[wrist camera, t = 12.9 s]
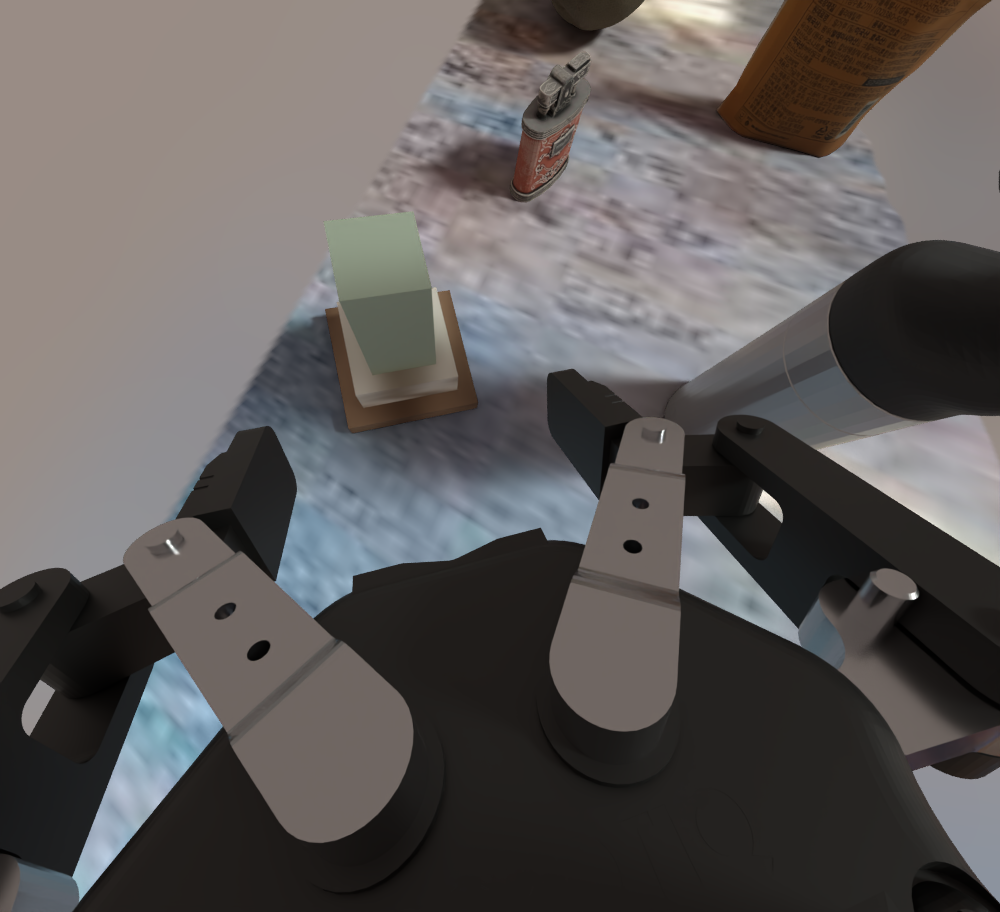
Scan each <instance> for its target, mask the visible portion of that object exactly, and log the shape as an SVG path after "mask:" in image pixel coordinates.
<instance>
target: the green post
mask: <svg viewBox="0 0 1000 912" xmlns="http://www.w3.org/2000/svg"><path fill="white" fill-rule="evenodd" d="M324 226H325V231H326V236H327V241H328V246H329V251H330V257H331V262H332V267H333V272H334V277H335V282H336V287H337V292H338V297H339V302H340V304H341V306H342V309H343V311H344V313H345V315H346V317H347V320H348V322H349V324H350V326H351V329H352V331H353V333H354V335H355V337H356V340H357V342H358V344H359V346H360V349H361V351H362V353H363V355H364V357H365V360H366V362H367V364H368V366H369V369H370V371H371V373H372V375H376V374H382V373H388V372H394V371H399V370H405V369H411V368H416V367H422V366H428V365H433V364H436V352H435V335H434V319H433V302H432V287H431V283H430V279H429V275H428V271H427V267H426V262H425V258H424V254H423V250H422V246H421V242H420V238H419V233H418V229H417V225H416V221H415V217H414V213H413V212H404V213H395V214H386V215H377V216H368V217H359V218H350V219H341V220H332V221H324Z"/></svg>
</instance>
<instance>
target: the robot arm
mask: <svg viewBox="0 0 1000 912" xmlns="http://www.w3.org/2000/svg"><path fill="white" fill-rule="evenodd" d="M999 190H1000V171H999ZM547 412H548V425H549V430H550V433H551V435H552V437H553V438H554V440H555V441H556V443H557V444H558V445H559V447H560V448H561V449H562V451H563V452H564V453H565V455H566V456H567V458H568V459H569V460H570V462H571V463H572V464H573V466H574V467H575V468H576V470H577V471H578V472H579V474H580V475H581V477H582V478H583V479H584V481H585V482H586V483H587V485H588V486H589V487H590V489H591V490H592V491H593V493H594V494H595V496H596V497H597V498H598V500H599V502H598V506H597V509H596V512H595V516H594V519H593V522H592V525H591V529H590V532H589V535H588V539H587V542H586V545H583V544H579V543H575V542H569V541H558V540H547V539H546V537H545V535H544V533H543V531H542V529H541V528H538V529H534V530H530V531H526V532H522V533H518V534H514V535H510V536H507V537H503V538H499V539H496V540H494V541H492V542H490V543H488V544H486V545H484V546H482V547H480V548H478V549H476V550H473V551H471V552H469V553H467V554H465V555H463V556H461V557H459V558H457V559H454V560H450V561H436V562H419V563H402V564H398V565H394V566H390V567H386V568H382V569H379V570H375V571H371V572H367V573H363V574H359V575H355V576H353V589H352V592H351V593H349V594H347V595H345V596H344V597H342V598H340V599H339V600H337V601H335V602H334V603H332V604H331V605H330V606H328V607H327V608H325V609H324V610H323V611H322V612H320V613H319V614H318V615H317V616H316V617H315V618H312V617H311V616H310V615H309V614H308V613H307V612H306V611H304V610H303V609H302V608H301V607H300V606H299V605H298V604H297V603H296V602H295V601H294V600H293V599H292V598H291V597H290V596H289V595H287V594H286V593H285V592H284V591H283V590H282V589H281V588H280V587H279V586H278V585H277V584H276V583H275V582H274V581H276V578H277V574H278V570H279V566H280V561H281V557H282V553H283V549H284V544H285V540H286V536H287V532H288V527H289V523H290V519H291V515H292V510H293V506H294V502H295V498H296V493H297V485H296V479H295V476H294V473H293V470H292V468H291V466H290V464H289V462H288V460H287V457H286V455H285V453H284V451H283V449H282V447H281V445H280V442H279V440H278V438H277V436H276V434H275V432H274V431H273V429H272V428H271V427H269V426H265V427H260V428H255V429H249V430H244V431H239V432H237V434H236V436H235V437H234V439H233V441H232V443H231V445H230V447H229V449H228V450H227V452H224V453H221V454H220V455H219V456H217V457H216V458H215V459H214V460H213V461H211V462H210V463H209V464H208V465H207V466H206V468H205V469H204V471H203V473H202V474H201V476H200V480H198V481H197V483H196V485H195V486H194V488H193V489H194V491H192V492H191V493H190V495H189V497H188V499H187V500H186V502H185V504H184V505H183V507H182V509H181V511H180V512H179V514H178V516H177V517H176V519H175V520H172V521H169V522H166V523H164V524H161V525H159V526H157V527H155V528H153V529H151V530H150V531H148V532H146V533H145V534H143V535H142V536H141V537H139V538H138V539H137V540H136V541H135V542H134V543H132V544H131V546H130V547H129V548H128V549H127V551H126V552H125V554H124V557H123V563H124V564H123V565H121V566H118V567H116V568H113V569H111V570H109V571H106V572H104V573H101V574H99V575H96V576H94V577H92V578H89V579H87V580H84V581H82V582H79V580H77V579H76V578H75V577H74V576H73V575H72V574H71V573H70V572H69V571H68V570H66V569H63V568H51V569H46V570H42V571H38V572H35V573H33V574H30V575H27V576H25V577H23V578H20V579H18V580H16V581H14V582H12V583H10V584H8V585H7V586H5V587H3V588H2V589H0V912H1000V903H999V902H998V901H997V900H996V899H995V898H994V897H993V896H992V894H991V893H990V892H989V891H988V890H987V889H986V887H985V886H984V885H983V884H982V883H981V882H980V880H979V879H978V878H977V876H976V875H975V874H974V872H973V871H972V870H971V869H970V867H969V866H968V864H967V863H966V861H965V860H964V858H963V857H962V856H961V854H960V853H959V851H958V850H957V848H956V847H955V846H954V844H953V843H952V841H951V840H950V838H949V837H948V835H947V833H946V832H945V830H944V829H943V827H942V825H941V824H940V822H939V820H938V819H937V817H936V816H935V814H934V812H933V811H932V809H931V807H930V806H929V804H928V802H927V800H926V798H925V796H924V794H923V792H922V790H921V789H920V787H919V785H918V783H917V781H916V779H915V777H914V774H913V772H912V771H914V770H917V769H920V768H923V767H926V766H929V765H930V766H932V767H933V768H935V769H937V770H939V771H942V772H944V773H946V774H949V775H951V776H955V777H959V778H965V779H978V778H981V777H984V776H986V775H987V774H989V773H991V772H992V771H994V770H996V769H997V768H999V767H1000V567H999V566H997V565H996V564H994V563H992V562H991V561H989V560H988V559H986V558H985V557H983V556H981V555H980V554H978V553H977V552H975V551H974V550H972V549H970V548H969V547H967V546H966V545H964V544H963V543H961V542H960V541H958V540H956V539H955V538H953V537H952V536H950V535H949V534H947V533H945V532H944V531H942V530H941V529H939V528H938V527H936V526H934V525H933V524H931V523H930V522H928V521H927V520H925V519H923V518H922V517H920V516H919V515H917V514H916V513H914V512H913V511H911V510H909V509H908V508H906V507H905V506H903V505H902V504H900V503H898V502H897V501H895V500H894V499H892V498H891V497H889V496H887V495H886V494H884V493H883V492H881V491H880V490H878V489H876V488H875V487H873V486H872V485H870V484H869V483H867V482H866V481H864V480H862V479H861V478H859V477H858V476H856V475H855V474H853V473H851V472H850V471H848V470H847V469H845V468H844V467H842V466H840V465H839V464H837V463H836V462H834V461H833V460H831V459H829V458H828V457H826V456H825V455H823V454H822V453H820V452H819V451H817V450H818V449H822V448H826V447H831V446H835V445H839V444H843V443H847V442H851V441H855V440H859V439H863V438H867V437H871V436H876V435H879V434H883V433H887V432H891V431H895V430H899V429H903V428H907V427H911V426H915V425H919V424H924V423H928V422H932V421H936V420H939V419H944V418H948V417H952V416H957V415H978V416H1000V252H997V251H993V250H990V249H986V248H981V247H978V246H973V245H970V244H966V243H961V242H955V241H945V240H930V241H921V242H916V243H912V244H908V245H905V246H902V247H900V248H897V249H895V250H893V251H891V252H889V253H887V254H885V255H884V256H882V257H880V258H879V259H877V260H875V261H874V262H872V263H871V264H869V265H868V266H866V267H865V268H863V269H862V270H860V271H859V272H857V273H855V274H854V275H852V276H851V277H850V278H849V279H847V280H845V281H844V282H842V283H841V284H839V285H838V286H836V287H835V288H833V289H832V290H830V291H828V292H827V293H825V294H824V295H822V296H821V297H819V298H818V299H816V300H815V301H813V302H812V303H810V304H808V305H807V306H805V307H804V308H802V309H801V310H800V311H798V312H797V313H795V314H794V315H792V316H790V317H789V318H787V319H786V320H784V321H783V322H781V323H780V324H778V325H777V326H775V327H773V328H772V329H770V330H769V331H767V332H766V333H764V334H763V335H761V336H760V337H758V338H756V339H755V340H753V341H752V342H750V343H749V344H747V345H746V346H744V347H743V348H741V349H740V350H738V351H736V352H735V353H733V354H732V355H730V356H729V357H727V358H726V359H724V360H723V361H721V362H719V363H718V364H716V365H715V366H713V367H712V368H710V369H709V370H707V371H705V372H704V373H702V374H701V375H699V376H698V377H696V378H695V379H693V380H692V381H690V382H688V383H687V384H685V385H684V386H682V387H681V388H680V389H678V390H677V391H676V392H675V393H674V394H673V396H672V397H671V398H670V400H669V402H668V404H667V406H666V410H665V415H664V419H663V418H657V417H642V416H641V415H639V414H638V413H637V412H636V411H635V410H633V409H632V408H631V407H630V406H629V405H627V404H626V403H625V402H622V400H621V399H620V398H619V397H618V396H617V395H615V394H614V393H613V392H612V391H611V390H610V389H608V388H607V387H606V386H604V385H601V384H599V383H596V382H593V381H587V380H586V379H585V378H583V377H582V376H581V375H580V374H579V373H578V372H577V371H576V370H574V369H568V370H563V371H558V372H553V373H549V374H548V377H547ZM763 490H764V491H765V492H767V493H768V494H769V495H770V496H771V497H773V498H774V499H775V500H776V501H777V502H778V504H779V505H780V507H781V509H782V513H783V522H782V523H781V522H780V521H779V520H778V519H777V518H776V517H774V516H773V515H772V514H771V513H770V512H769V511H768V510H766V509H765V508H764V507H763V506H762V505H761V504H760V503H759V499H760V496H761V493H762V491H763ZM683 516H698V517H699V518H700V520H701V521H702V522H703V523H704V524H705V525H706V526H707V527H708V529H709V530H710V531H711V532H712V533H713V534H714V535H715V536H716V537H717V539H718V540H719V541H720V542H721V543H722V544H723V545H724V546H725V547H726V549H727V550H728V551H729V552H730V553H731V554H732V555H733V556H734V558H735V559H736V560H737V561H738V562H739V563H740V564H741V565H742V566H743V568H744V569H745V570H746V571H747V572H748V573H749V574H750V575H751V576H752V578H753V579H754V580H755V581H756V582H757V583H758V584H759V585H760V586H761V588H762V589H763V590H764V591H765V592H766V593H767V594H768V595H769V597H770V598H771V599H772V600H773V601H774V602H775V603H776V604H777V605H778V607H779V608H780V609H781V610H782V611H783V612H784V613H785V614H786V615H787V617H788V618H789V619H790V620H791V621H792V622H793V623H794V624H795V626H796V627H797V628H798V629H799V631H798V635H799V641H800V644H801V646H802V647H801V646H799V645H797V644H795V643H793V642H791V641H788V640H786V639H784V638H782V637H780V636H778V635H776V634H774V633H772V632H770V631H767V630H765V629H763V628H761V627H759V626H757V625H755V624H753V623H751V622H749V621H746V620H744V619H742V618H740V617H738V616H736V615H734V614H732V613H730V612H728V611H725V610H723V609H721V608H719V607H717V606H715V605H713V604H711V603H709V602H707V601H705V600H702V599H700V598H698V597H696V596H694V595H692V594H690V593H688V592H686V591H684V590H681V589H679V579H680V562H681V545H682V528H683ZM174 652H175V653H176V654H177V656H178V657H179V659H180V660H181V662H182V663H183V665H184V666H185V668H186V670H187V671H188V673H189V674H190V676H191V677H192V679H193V680H194V682H195V683H196V685H197V687H198V688H199V690H200V691H201V693H202V694H203V696H204V697H205V699H206V700H207V702H208V704H209V705H210V707H211V708H212V710H213V711H214V713H215V714H216V716H217V717H218V719H219V721H220V722H221V724H222V725H223V727H222V728H221V729H220V731H219V732H218V733H217V734H216V736H215V737H214V738H213V739H212V740H211V742H210V743H209V744H208V745H207V747H206V748H205V749H204V750H203V751H202V753H201V754H200V755H199V756H198V758H197V759H196V760H195V761H194V762H193V764H192V765H191V766H190V767H189V769H188V770H187V771H186V772H185V773H184V775H183V776H182V777H181V778H180V780H179V781H178V782H177V783H176V784H175V786H174V787H173V788H172V789H171V791H170V792H169V793H168V794H167V795H166V797H165V798H164V799H163V800H162V802H161V803H160V804H159V805H158V806H157V808H156V809H155V810H154V811H153V812H152V814H151V815H150V816H149V817H148V819H147V820H146V821H145V822H144V823H143V825H142V826H141V827H140V828H139V830H138V831H137V832H136V833H135V834H134V836H133V837H132V838H131V839H130V841H129V842H128V843H127V844H126V845H125V847H124V848H123V849H122V850H121V852H120V853H119V854H118V855H117V856H116V858H115V859H114V860H113V861H112V863H111V864H110V865H109V866H108V867H107V869H106V870H105V871H104V872H103V874H102V875H101V876H100V877H99V878H98V880H97V881H96V882H95V883H94V884H93V886H92V887H91V888H90V889H89V891H88V892H87V893H86V894H85V895H84V897H83V898H82V899H81V901H80V902H79V890H78V886H77V884H76V881H75V880H74V879H73V878H72V876H73V874H74V871H75V868H76V866H77V863H78V861H79V858H80V855H81V853H82V850H83V848H84V845H85V842H86V840H87V837H88V835H89V832H90V830H91V827H92V824H93V822H94V819H95V817H96V814H97V811H98V809H99V806H100V804H101V801H102V798H103V796H104V793H105V791H106V788H107V785H108V783H109V780H110V778H111V775H112V772H113V770H114V767H115V765H116V762H117V759H118V757H119V754H120V752H121V749H122V746H123V744H124V741H125V739H126V736H127V733H128V731H129V728H130V726H131V723H132V721H133V718H134V715H135V713H136V710H137V708H138V705H139V702H140V700H141V697H142V695H143V692H144V689H145V687H146V684H147V682H148V679H149V676H150V674H151V671H152V669H153V666H154V663H155V662H157V661H159V660H161V659H163V658H164V657H166V656H168V655H170V654H172V653H174ZM39 680H42V681H43V682H45V683H46V684H47V685H49V686H50V687H52V688H53V689H55V692H54V694H53V696H52V697H51V699H50V701H49V703H48V704H47V706H46V708H45V710H44V712H43V713H42V715H41V717H40V719H39V720H38V722H37V724H36V726H35V728H34V729H33V731H32V733H31V735H30V736H28V735H27V734H26V733H25V731H24V729H23V727H22V721H21V717H22V711H23V708H24V705H25V703H26V701H27V700H28V698H29V696H30V695H31V693H32V691H33V690H34V688H35V687H36V684H37V683H38V682H39Z"/></svg>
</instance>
